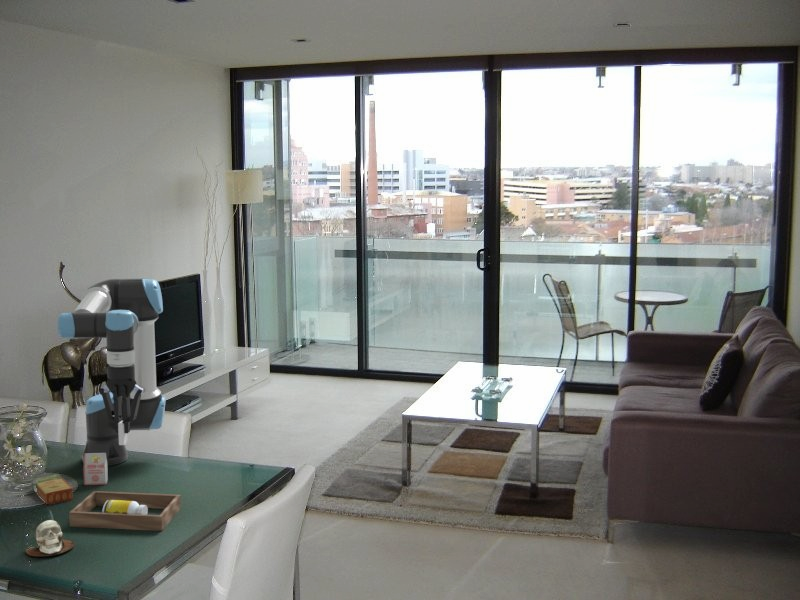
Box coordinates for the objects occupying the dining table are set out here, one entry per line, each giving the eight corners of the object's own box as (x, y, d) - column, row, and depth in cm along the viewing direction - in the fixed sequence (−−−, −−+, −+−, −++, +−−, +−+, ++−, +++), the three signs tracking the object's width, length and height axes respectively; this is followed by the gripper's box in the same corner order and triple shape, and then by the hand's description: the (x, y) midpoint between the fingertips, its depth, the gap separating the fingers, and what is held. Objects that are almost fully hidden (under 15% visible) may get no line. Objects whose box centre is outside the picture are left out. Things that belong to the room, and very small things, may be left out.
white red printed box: (86, 481, 285) (85, 451, 283) (107, 480, 286) (106, 451, 284) (84, 485, 281) (82, 455, 280) (105, 484, 282) (104, 454, 281)
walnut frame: (94, 504, 265) (93, 491, 265) (181, 508, 263) (180, 494, 263) (69, 526, 248) (69, 512, 248) (162, 530, 247) (161, 516, 246)
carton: (45, 506, 264) (44, 493, 263) (32, 490, 277) (31, 477, 276) (73, 500, 269) (73, 487, 268) (59, 485, 281) (58, 472, 281)
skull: (80, 549, 232) (51, 527, 227) (50, 579, 229) (21, 557, 225) (75, 531, 242) (47, 509, 238) (46, 559, 240) (18, 538, 235)
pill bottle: (100, 505, 248) (139, 508, 247) (110, 495, 254) (148, 497, 253) (102, 526, 250) (140, 528, 248) (112, 516, 256) (149, 518, 254)
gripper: (93, 366, 246) (95, 446, 249) (138, 367, 245) (140, 448, 249) (103, 360, 253) (106, 438, 257) (147, 362, 253) (149, 440, 256)
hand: (123, 443), depth 253 cm, fingers closed
